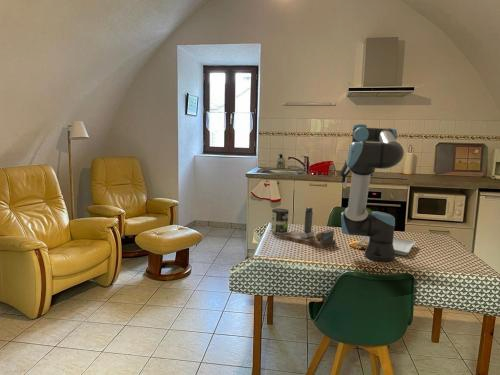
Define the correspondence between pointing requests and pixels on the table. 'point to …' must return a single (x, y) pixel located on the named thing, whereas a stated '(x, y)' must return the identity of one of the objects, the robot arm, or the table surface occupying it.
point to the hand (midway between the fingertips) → (355, 188)
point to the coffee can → (279, 221)
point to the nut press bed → (312, 238)
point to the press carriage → (308, 224)
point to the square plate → (394, 245)
